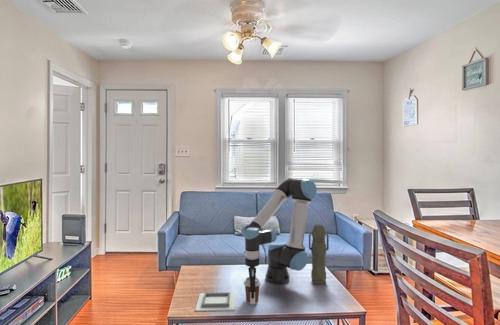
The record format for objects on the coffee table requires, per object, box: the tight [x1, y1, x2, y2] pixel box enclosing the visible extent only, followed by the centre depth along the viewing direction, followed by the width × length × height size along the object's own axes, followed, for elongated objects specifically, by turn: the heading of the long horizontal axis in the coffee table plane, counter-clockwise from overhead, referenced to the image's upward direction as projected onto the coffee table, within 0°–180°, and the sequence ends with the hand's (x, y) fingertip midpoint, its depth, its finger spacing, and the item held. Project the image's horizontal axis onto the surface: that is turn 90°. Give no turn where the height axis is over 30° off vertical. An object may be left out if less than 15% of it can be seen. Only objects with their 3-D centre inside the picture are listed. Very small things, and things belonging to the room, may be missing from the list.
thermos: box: [308, 224, 330, 286], centre depth 195 cm, size 9×12×35 cm
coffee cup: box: [243, 276, 262, 305], centre depth 168 cm, size 9×9×12 cm
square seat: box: [194, 291, 237, 312], centre depth 168 cm, size 20×20×2 cm
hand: (252, 299), depth 168 cm, fingers closed on coffee cup, 9 cm apart
